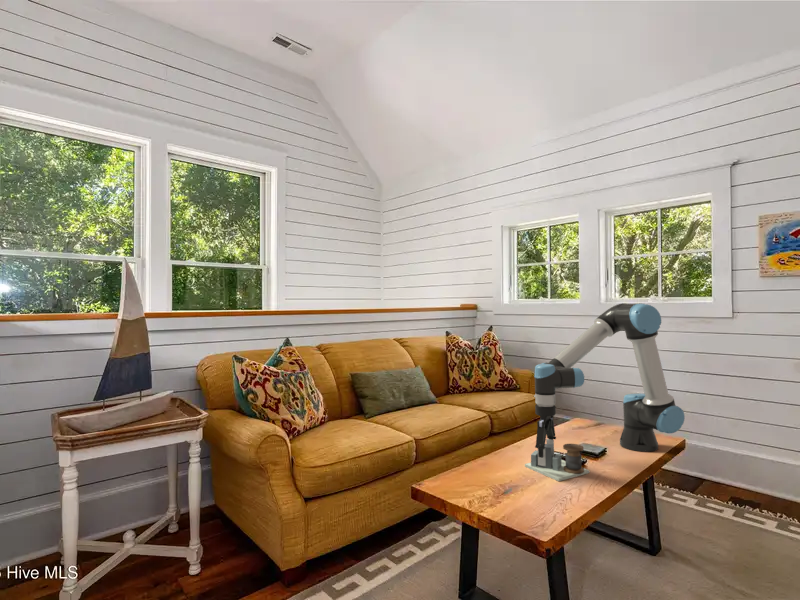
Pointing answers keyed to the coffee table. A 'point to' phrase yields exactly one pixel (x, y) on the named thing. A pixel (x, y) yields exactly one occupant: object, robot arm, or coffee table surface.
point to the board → (555, 472)
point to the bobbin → (573, 458)
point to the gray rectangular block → (549, 456)
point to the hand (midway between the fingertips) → (546, 460)
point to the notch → (556, 460)
